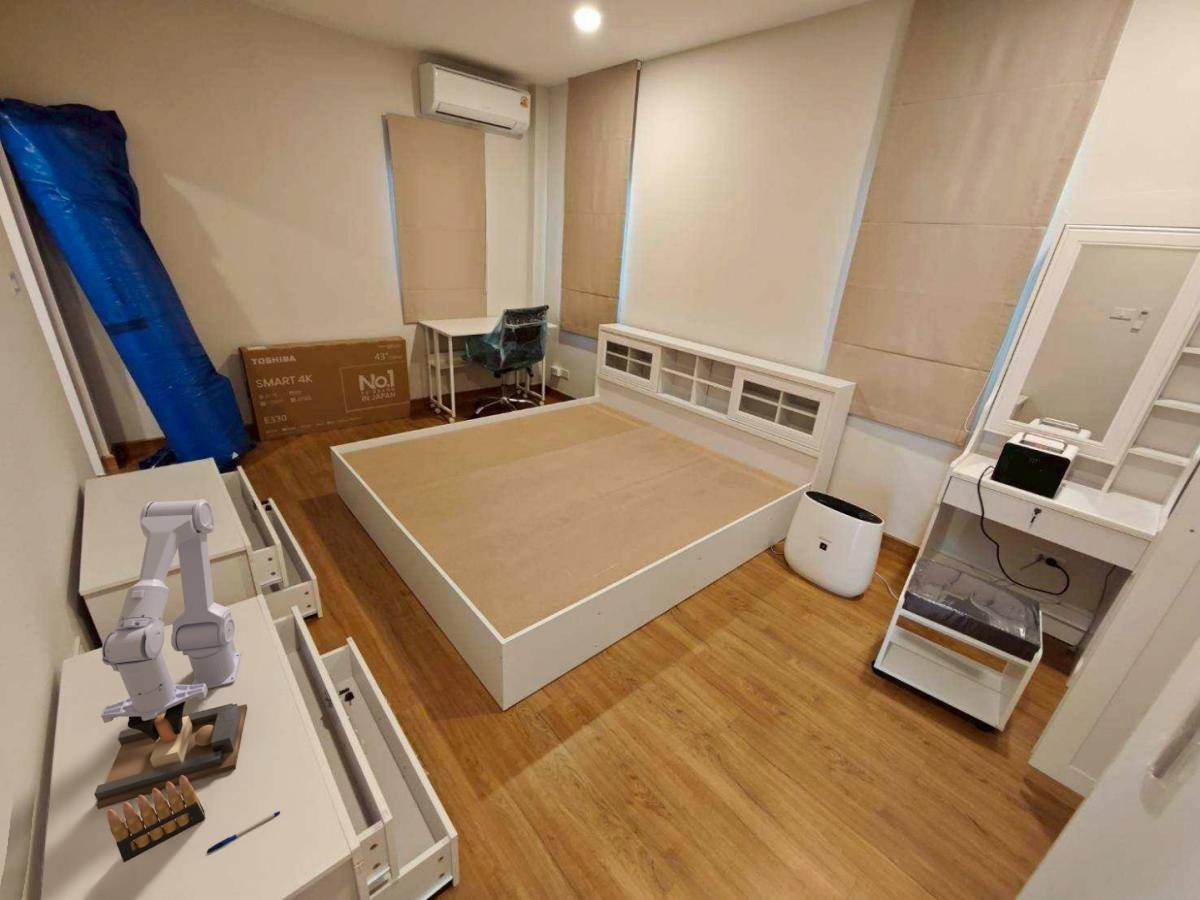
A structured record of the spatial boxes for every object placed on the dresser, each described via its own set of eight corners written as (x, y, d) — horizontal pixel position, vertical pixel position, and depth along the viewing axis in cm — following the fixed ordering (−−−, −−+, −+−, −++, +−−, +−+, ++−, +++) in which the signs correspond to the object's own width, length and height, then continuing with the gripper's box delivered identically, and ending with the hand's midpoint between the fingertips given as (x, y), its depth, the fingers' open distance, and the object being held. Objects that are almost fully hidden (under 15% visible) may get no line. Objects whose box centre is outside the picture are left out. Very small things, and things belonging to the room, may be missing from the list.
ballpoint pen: (208, 856, 83) (206, 853, 83) (207, 851, 84) (205, 848, 83) (280, 814, 90) (279, 811, 89) (279, 810, 90) (278, 807, 90)
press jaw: (168, 734, 99) (156, 704, 95) (193, 727, 100) (182, 698, 97) (155, 772, 92) (142, 741, 89) (182, 764, 94) (170, 734, 90)
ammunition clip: (204, 810, 89) (187, 767, 84) (205, 819, 88) (188, 776, 83) (123, 852, 82) (100, 808, 77) (123, 862, 81) (100, 819, 76)
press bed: (126, 739, 99) (119, 721, 97) (247, 707, 107) (242, 691, 105) (98, 809, 87) (88, 790, 85) (235, 768, 96) (229, 750, 94)
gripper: (84, 713, 82) (110, 765, 88) (193, 687, 89) (210, 738, 94) (101, 679, 88) (124, 730, 94) (202, 657, 94) (218, 707, 100)
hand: (168, 732), depth 94 cm, fingers closed on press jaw, 3 cm apart
